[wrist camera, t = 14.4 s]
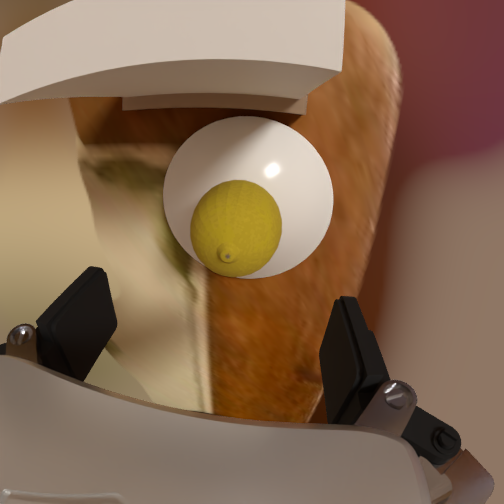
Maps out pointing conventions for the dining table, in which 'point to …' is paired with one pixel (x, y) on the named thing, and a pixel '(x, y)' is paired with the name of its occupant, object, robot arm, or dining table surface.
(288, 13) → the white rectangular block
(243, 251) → the lemon
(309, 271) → the dining table surface
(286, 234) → the white round disc
